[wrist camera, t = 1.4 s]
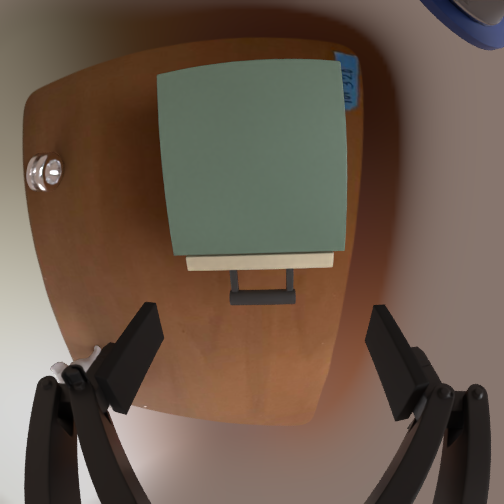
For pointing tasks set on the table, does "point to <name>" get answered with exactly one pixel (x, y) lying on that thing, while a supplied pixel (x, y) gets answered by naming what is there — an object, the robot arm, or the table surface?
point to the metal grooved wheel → (45, 172)
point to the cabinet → (254, 156)
